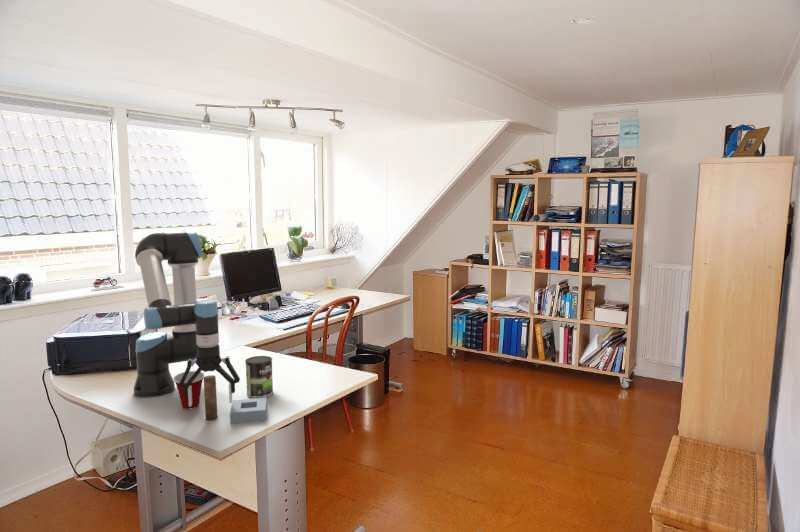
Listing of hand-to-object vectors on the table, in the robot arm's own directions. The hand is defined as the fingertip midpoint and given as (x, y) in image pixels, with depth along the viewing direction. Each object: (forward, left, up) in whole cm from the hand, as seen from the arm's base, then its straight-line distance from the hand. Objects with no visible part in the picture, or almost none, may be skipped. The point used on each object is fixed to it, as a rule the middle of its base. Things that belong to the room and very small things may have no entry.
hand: (210, 403), depth 188 cm
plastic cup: (-9, +13, -6) cm, 17 cm away
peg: (0, 0, -5) cm, 5 cm away
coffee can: (+16, +21, -6) cm, 27 cm away
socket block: (+13, -1, -5) cm, 14 cm away
